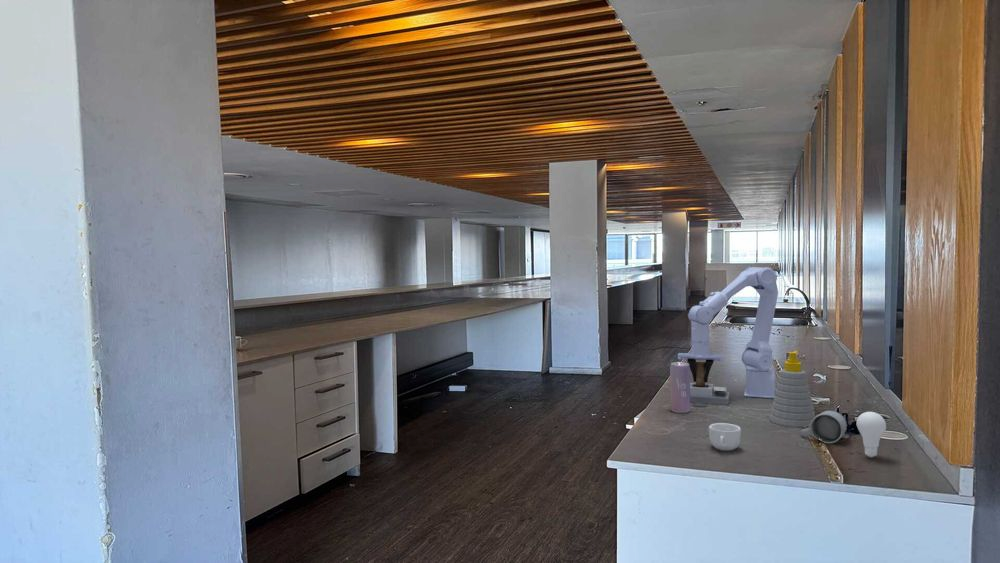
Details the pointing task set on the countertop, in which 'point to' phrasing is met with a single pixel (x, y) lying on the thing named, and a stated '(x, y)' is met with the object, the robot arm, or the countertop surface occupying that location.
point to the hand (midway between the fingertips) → (700, 381)
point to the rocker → (720, 389)
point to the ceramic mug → (826, 427)
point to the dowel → (700, 374)
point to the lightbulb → (871, 431)
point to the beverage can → (680, 387)
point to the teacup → (724, 436)
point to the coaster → (699, 404)
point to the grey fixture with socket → (708, 395)
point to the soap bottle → (792, 396)
